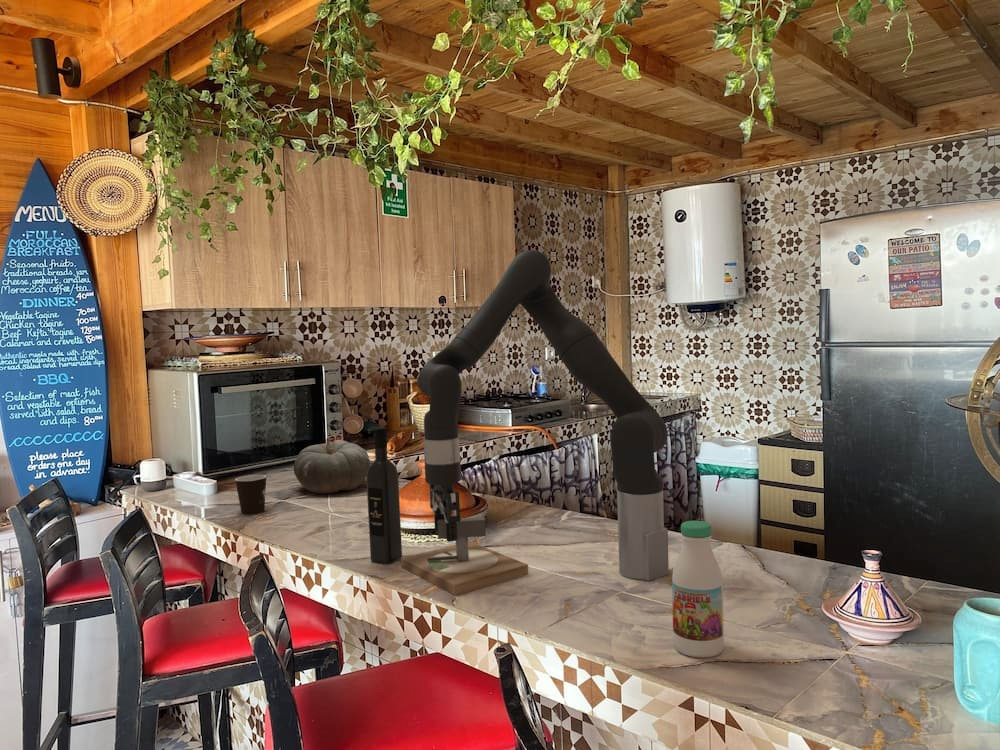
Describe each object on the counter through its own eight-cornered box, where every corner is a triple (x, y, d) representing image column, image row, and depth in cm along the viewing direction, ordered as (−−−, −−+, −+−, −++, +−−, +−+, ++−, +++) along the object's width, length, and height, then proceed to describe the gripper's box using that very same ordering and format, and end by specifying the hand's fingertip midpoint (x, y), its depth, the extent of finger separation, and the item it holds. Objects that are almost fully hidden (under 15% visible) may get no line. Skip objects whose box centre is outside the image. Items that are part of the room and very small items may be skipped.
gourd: (351, 469, 261) (348, 422, 256) (388, 491, 242) (385, 441, 237) (284, 488, 245) (279, 439, 241) (317, 513, 227) (313, 461, 222)
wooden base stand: (528, 573, 153) (527, 562, 153) (455, 595, 143) (454, 583, 143) (470, 549, 171) (469, 539, 171) (401, 567, 161) (400, 556, 161)
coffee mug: (256, 516, 210) (253, 481, 209) (231, 514, 213) (228, 480, 212) (280, 506, 221) (278, 473, 220) (256, 504, 224) (254, 472, 223)
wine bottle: (388, 565, 163) (381, 430, 160) (368, 561, 165) (361, 429, 163) (404, 557, 168) (397, 426, 165) (384, 554, 170) (377, 425, 168)
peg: (485, 555, 159) (484, 516, 158) (486, 559, 156) (484, 520, 155) (427, 559, 158) (425, 520, 157) (427, 563, 155) (425, 523, 154)
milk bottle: (674, 635, 121) (672, 516, 120) (723, 639, 119) (721, 518, 117) (671, 656, 114) (668, 529, 112) (724, 661, 111) (721, 531, 110)
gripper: (470, 463, 149) (473, 542, 150) (449, 452, 162) (452, 524, 163) (434, 467, 146) (437, 547, 147) (416, 456, 159) (420, 529, 161)
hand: (445, 535), depth 155 cm, fingers open, 8 cm apart
